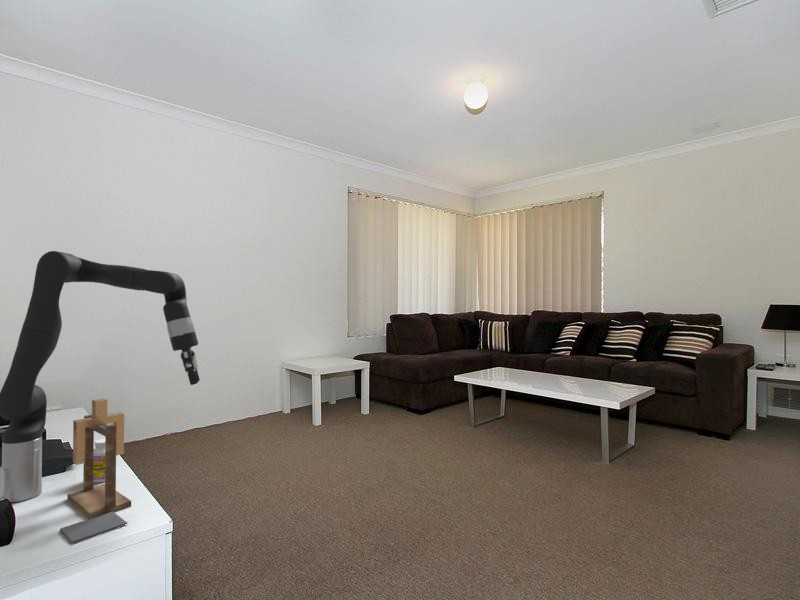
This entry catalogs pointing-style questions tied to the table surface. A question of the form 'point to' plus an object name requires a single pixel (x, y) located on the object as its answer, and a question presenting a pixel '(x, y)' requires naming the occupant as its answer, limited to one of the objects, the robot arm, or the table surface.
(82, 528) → the mat
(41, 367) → the robot arm
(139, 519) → the table surface
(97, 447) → the supplement bottle
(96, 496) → the stand
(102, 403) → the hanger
